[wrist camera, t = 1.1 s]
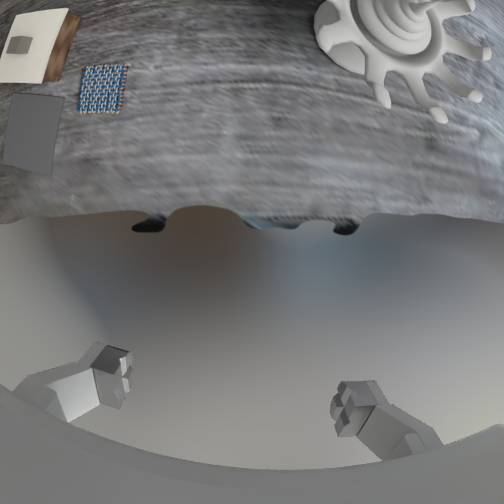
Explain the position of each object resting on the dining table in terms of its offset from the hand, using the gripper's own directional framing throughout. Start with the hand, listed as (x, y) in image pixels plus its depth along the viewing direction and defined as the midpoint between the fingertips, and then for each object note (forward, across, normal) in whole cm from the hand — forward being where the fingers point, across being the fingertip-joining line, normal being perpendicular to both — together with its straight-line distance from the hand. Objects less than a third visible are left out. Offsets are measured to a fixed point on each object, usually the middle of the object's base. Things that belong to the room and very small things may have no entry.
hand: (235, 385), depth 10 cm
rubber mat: (+40, +52, -15) cm, 67 cm away
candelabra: (+39, -15, -43) cm, 60 cm away
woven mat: (+40, +33, -23) cm, 57 cm away
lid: (+29, +50, -33) cm, 66 cm away
